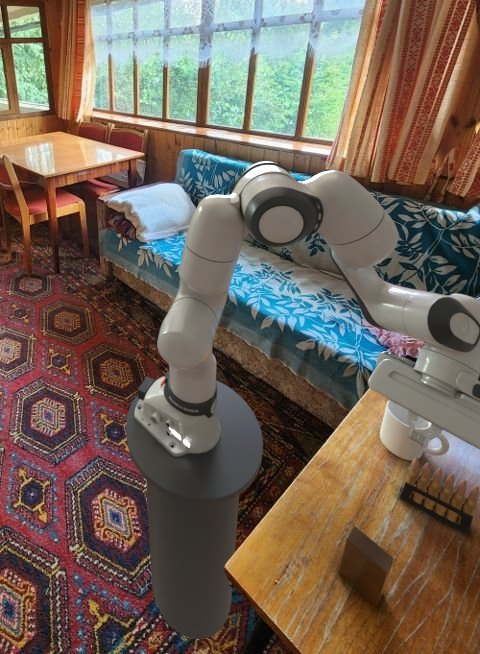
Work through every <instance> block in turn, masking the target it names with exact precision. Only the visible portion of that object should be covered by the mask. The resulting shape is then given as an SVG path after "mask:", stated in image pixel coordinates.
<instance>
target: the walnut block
mask: <svg viewBox="0 0 480 654" xmlns="http://www.w3.org/2000/svg"><path fill="white" fill-rule="evenodd" d="M393 563H394V557H393V556H392V555H391V554H390V553H388V552H387V551H386V550H385V549H383V548H382V547H381V546H379V544H378V543H376V542H375V541H374V540H372V538H370V537H369V536H368V535H367V534H365V533H364V531H362V530H361V529H359V528H358V527H357V526H355V525H353V527H351V530H350V532H349V534H348V535H347V537H346V540H345V544H344V548H343V553H342V556H341V561H340V565H339V569H338V573H339V574H340V575H341V576H342V578H344V579H345V581H347V583H349V584H350V585H351V586H352V587H353V588H354V589H356V590H357V592H359V593H360V594H361V595H362V596H363V597H364V598H365V599H366V600H367V601H368V602H369V603H370V604H371V605H372V606H374V607H375V608H377V607H378V605H379V603H380V601H381V598H382V596H383V593H384V591H385V588H386V586H387V582H388V578H389V575H390V572H391V570H392V569H391V568H392V566H393Z"/></svg>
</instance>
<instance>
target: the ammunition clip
mask: <svg viewBox="0 0 480 654" xmlns="http://www.w3.org/2000/svg"><path fill="white" fill-rule="evenodd" d="M419 459H420V458H419ZM419 459H418V457H416V458H414V459H413V460H411V464H410V466H409V467H408V469H407V471H406V475H405V477H404V480H403V481H402V484H401V486H400V489H399V497H398V498H399V499H400V500H402V501H404V502H406V503H407V504H409V505H411V506H412V507H415V508H417V509H418V510H420V511H422V512H424V513H426V514H428V515H429V516H431V517H433V518H435V519H437V520H439V521H441V522H442V523H444V524H445V525H446V524H447V525H448V526H449V527H451V528H454V529H455V530H457V531H459V532H461V533H463V534H465V535H469V533H470V529H471V526H472V522H473V518H474V514H475V512H476V509H477V506H478V500H479V498H480V487H479V486H478V485H475V486H473V487H472V488H471V489H470V491H469V493H468V495H467V496H466V492H467V487H468V485H467V480H466V479H462V480H460V482H459V483H458V484H457V487H456V489H455V490H454V491H453V489H454V485H455V475H454V474H453V473H451V474H449V475H448V476H447V477H446V479H445V481H444V483H443V484H442V480H443V469H442V468H440V467H439V468H437V469H436V470H435V472H434V474H433V475H432V478H431V479H430V474H431V471H432V470H431V469H432V468H431V463H430V462H426V463H425V464H424V465H423V467H422V470H421V471H420V473H418V472H419V468H420V460H419Z"/></svg>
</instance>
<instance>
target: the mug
mask: <svg viewBox="0 0 480 654" xmlns="http://www.w3.org/2000/svg"><path fill="white" fill-rule="evenodd" d="M408 412H409V410H407V409H405V408H403V407H401V406H400V405H398V404H396V403H394V402H392V401H390V400H389V399H388V401H387V403H386V407H385V411H384V414H383V418H382V421H381V422H382V423H381V425H380V430H379V437H380V441H381V442H382V444H383V446H384V447H385V448H386V449H387V450H388V451H389V452H390V453H392V454H393V455H394V456H396V457H397V458H398V457H399V458H400V459H403V460H406V461H413V459H414V458H416V457H418V459H420V458H421V457H422V456H423V453H425V454H427V455H431V456H438V457H439V456H443V455H445V454H447V453H448V452H449V450H450V442H449V440H448V438H447V436H446V435H445V434H444V433H443V432H442V433H441V435H440V436H438V437H437V439H438V440H439V441H440V446H439V447H435V448H434V447H430V446H429V445H428V446H427V448H425V447H423V446H421V445H420V444H418V443H416V442H415V441H413V440H411V439H410V438H408V437H407V435H408V433H409V430H410V427H409V422H408V418H407V415H408ZM413 423H414V427H415V431H416V432H418V433H420V434H422V435H423V436H427V435H429V434H431V433H433V432H434V431H432V429H431V427H432V425H433V424H432V423H430V422H428V421H427V420H425V419H423V418H421V417H418V419H417V421H415V420H413ZM418 439H419V438H418Z"/></svg>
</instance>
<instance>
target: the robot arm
mask: <svg viewBox="0 0 480 654" xmlns="http://www.w3.org/2000/svg"><path fill="white" fill-rule="evenodd" d="M316 233H318V235H320V237H321V238H322V240H323V241H324V242H325V243H326V244H327V246H328V248H329V249H328V253H329V256H330V258H331V261H332V263H333V264H334V266H335V268H336V269H337V270H338V272H339V274H340V275H341V277H342V279H343V280H344V281H345V282H346V285H347V286H348V287H349V289H350V290H351V291H352V294H353V295H354V297H355V298H356V300H357V301H356V302H357V303H358V306H359V309H360V311H361V313H362V316H363V318H364V320H365V321H366V322H367V323H368V324H369V325H370V326H372V327H373V328H376V329H380V330H384V331H388V332H393V333H396V334H399V335H402V336H406V337H408V338H412V339H414V340H418V341H422V342H425V344H424V345H423V346H422V347H421V349H420V352H419V354H418V356H417V359H416V360H415V361H413V360H411V359H409V358H407V357H404V356H402V355H399V354H397V353H396V352H394V351H382V352H379V354H378V355H377V358H376V360H375V365H376V367H375V368H374V369H373V371H372V373H371V374H370V376H369V378H368V380H367V385H368V387H369V389H370V390H371V391H372V392H374V393H376V394H377V395H379V396H381V397H383V398H385V399H387V400H388V401H389V400H390V401H392V402H394V403H396V404H398V405H400V406H401V407H403V408H405V409H407V410H409V412H408V415H407V418H408V422H409V427H410V430H409V433H408V435H407V437H408V438H410V439H411V440H413V441H415V442H416V443H418V444H420V445H421V446H423V447H425V448H427V446H428V447H429V444H430V443H429V442H430V441H432V440H434V439H436V438H438V436H440V435H441V433H443V431H445V432H446V433H449V434H450V435H452V436H454V437H455V438H458V439H459V440H461V441H463V442H465V443H467V444H468V445H470V446H472V447H474V448H475V449H478V450H479V451H480V380H479V377H480V299H478V298H475V297H473V296H470V295H468V294H463V293H452V294H450V295H446V294H440V293H436V292H432V291H426V290H419V289H415V288H410V287H405V286H401V285H398V284H397V285H396V284H393V283H390V282H388V281H385V280H383V279H382V278H381V277H380V276H379V274H378V273H377V271H376V269H375V268H374V266H377V265H379V264H380V263H382V262H384V261H385V260H387V258H389V257H390V256H391V255H392V253H393V252H394V251H395V249H396V247H397V244H398V241H399V231H398V227H397V226H396V223H395V221H394V220H393V219H392V217H391V215H390V214H389V213H388V212H387V211H386V209H384V207H383V206H382V205H381V204H380V202H379V201H378V200H377V199H376V198H375V196H373V195H372V193H371V192H369V191H368V190H367V189H366V188H365V187H364V186H363V185H362V184H361V183H360V182H358V180H356V179H355V178H354V177H352V176H351V175H350V174H349V173H346V172H344V171H341V170H336V169H335V170H334V169H332V170H331V169H330V170H326V171H322V172H319V173H318V174H315V175H314V176H312V177H311V178H310V179H307V180H302V181H301V180H296V178H294V176H293V175H292V174H291V172H290V171H289V170H288V169H287V168H286V167H285V166H283V165H281V164H279V163H277V162H273V161H267V160H266V161H259V162H255V163H254V164H252V165H250V166H248V168H246V169H245V170H244V171H243V172H242V174H241V175H240V176H239V177H238V178H237V179H236V180H235V181H234V182H233V183H232V184H231V185H230V187H229V189H228V195H225V194H212V195H211V194H210V195H208V196H205V197H204V198H202V199H201V200H200V201H199V203H198V205H197V207H196V209H195V211H194V212H193V215H192V217H191V220H190V223H189V226H188V229H187V232H186V237H185V241H184V244H183V250H182V253H181V258H180V262H179V266H178V277H179V286H178V290H177V293H176V296H175V298H174V300H173V303H172V304H171V306H170V308H169V310H168V312H167V313H166V315H165V317H164V319H163V320H162V323H161V324H160V328H159V332H158V337H157V341H156V342H157V343H156V344H157V345H156V346H157V350H158V353H159V356H160V357H161V358H162V359H163V360H164V362H166V364H168V367H169V368H168V371H167V372H166V373H165V374H164V376H161V377H159V378H158V379H153V378H151V377H150V376H146V378H145V379H144V380H143V382H142V383H141V384H140V385H139V386H138V387H137V389H136V390H137V395H138V398H139V399H140V400H139V401H138V403H137V405H136V408H135V414H134V418H135V419H136V420H137V421H138V422H139V423H140V424H141V425H142V426H143V427H144V428H145V429H146V430H147V431H148V432H149V433H150V434H151V435H152V436H153V437H154V438H155V439H156V440H157V441H158V442H159V443H160V444H161V445H162V446H163V447H165V448H166V449H167V450H168V451H169V452H170V453H171V454H172V455H173V456H175V457H179V456H182V455H185V454H188V453H194V454H197V453H204V452H207V451H209V450H211V449H212V448H213V447H214V446H215V445H216V444H217V443H218V441H219V439H220V435H221V427H220V423H219V420H218V417H217V412H216V408H217V401H218V398H217V384H216V381H217V359H216V356H215V355H214V353H213V346H214V341H215V337H216V333H217V329H218V326H219V324H220V321H221V318H222V315H223V311H224V308H225V305H226V301H227V298H228V294H229V291H230V287H231V283H232V280H233V277H234V274H235V270H236V268H237V264H238V260H239V257H240V253H241V249H242V247H243V246H242V245H243V243H244V241H245V239H246V237H247V236H248V235H249V234H251V236H253V237H254V238H255V239H256V241H258V242H259V243H261V244H263V245H264V246H268V247H271V248H283V247H288V246H291V245H295V244H296V243H298V242H300V241H302V240H303V239H305V238H306V237H308V236H312V235H314V234H316ZM156 380H157V381H156ZM139 408H140V409H139ZM418 417H421V418H423V419H425V420H427V421H428V422H430V423H432V427H431V429H432V431H434V432H433V433H431V434H430V433H429V435H427V436H423V435H422V434H420V433H418V432H416V431H415V427H414V423H413V420H415V421H417V419H418ZM418 438H419V439H418ZM171 447H174V448H171Z"/></svg>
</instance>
